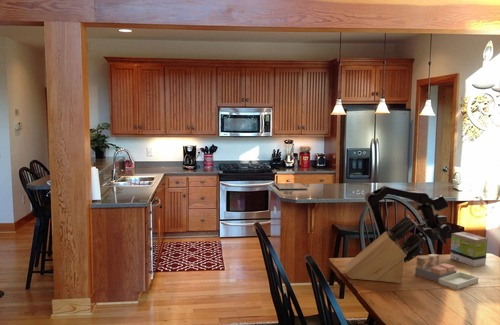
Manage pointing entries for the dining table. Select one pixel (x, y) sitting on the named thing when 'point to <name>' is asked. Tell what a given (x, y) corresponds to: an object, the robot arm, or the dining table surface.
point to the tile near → (438, 270)
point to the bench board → (432, 273)
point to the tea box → (468, 248)
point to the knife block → (386, 255)
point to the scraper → (427, 261)
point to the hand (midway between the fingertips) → (439, 242)
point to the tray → (457, 280)
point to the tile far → (447, 267)
